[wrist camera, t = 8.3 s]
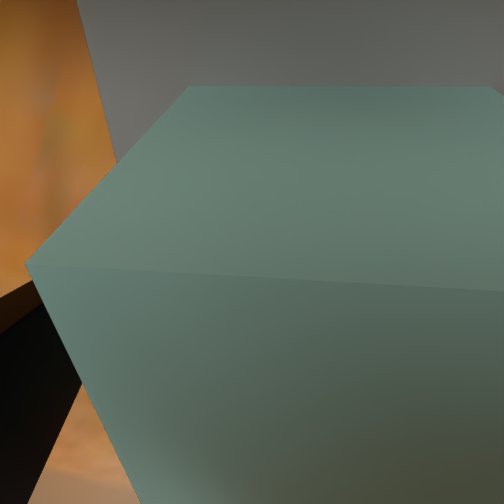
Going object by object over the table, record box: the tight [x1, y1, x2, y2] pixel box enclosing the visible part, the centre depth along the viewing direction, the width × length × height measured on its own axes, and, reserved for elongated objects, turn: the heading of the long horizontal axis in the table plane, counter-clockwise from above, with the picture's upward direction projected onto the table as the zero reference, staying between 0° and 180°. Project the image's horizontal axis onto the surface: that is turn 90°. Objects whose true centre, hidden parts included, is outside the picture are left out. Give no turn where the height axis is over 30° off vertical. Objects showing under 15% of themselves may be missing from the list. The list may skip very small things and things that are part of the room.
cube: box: [25, 86, 504, 504], centre depth 7 cm, size 6×6×6 cm
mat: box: [76, 0, 504, 163], centre depth 10 cm, size 10×10×1 cm
